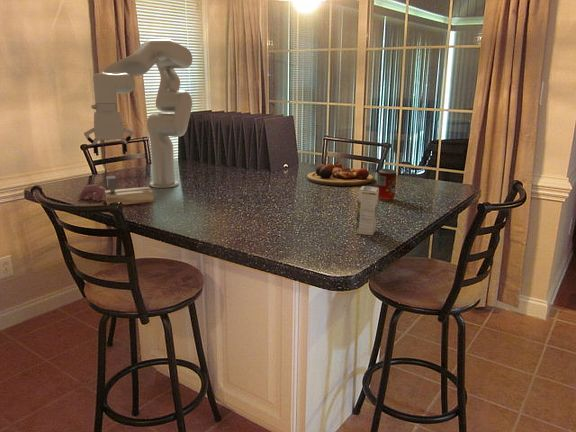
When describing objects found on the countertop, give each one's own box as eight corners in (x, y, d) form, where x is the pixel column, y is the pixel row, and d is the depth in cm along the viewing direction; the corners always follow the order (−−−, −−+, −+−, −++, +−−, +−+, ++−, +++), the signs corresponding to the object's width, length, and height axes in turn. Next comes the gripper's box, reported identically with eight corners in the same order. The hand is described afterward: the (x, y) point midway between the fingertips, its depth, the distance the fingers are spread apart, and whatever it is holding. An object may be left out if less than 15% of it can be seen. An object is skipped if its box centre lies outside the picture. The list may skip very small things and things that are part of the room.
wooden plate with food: (387, 182, 228) (388, 165, 226) (335, 189, 211) (336, 171, 208) (343, 172, 253) (344, 156, 251) (293, 178, 236) (294, 161, 234)
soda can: (390, 202, 190) (392, 172, 187) (373, 199, 194) (375, 170, 191) (397, 199, 196) (399, 169, 193) (381, 196, 200) (383, 167, 197)
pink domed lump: (105, 203, 191) (109, 186, 192) (97, 201, 186) (101, 183, 187) (84, 201, 194) (88, 184, 195) (77, 199, 189) (80, 181, 191)
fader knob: (107, 190, 187) (106, 176, 185) (115, 189, 188) (114, 175, 186) (109, 193, 182) (107, 178, 181) (117, 192, 184) (116, 178, 182)
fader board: (105, 200, 189) (104, 190, 188) (149, 196, 196) (149, 186, 195) (107, 206, 182) (106, 195, 180) (153, 201, 189) (153, 191, 187)
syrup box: (358, 228, 158) (360, 185, 154) (376, 230, 157) (379, 187, 153) (355, 233, 153) (357, 189, 149) (374, 235, 151) (377, 191, 147)
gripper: (81, 109, 170) (86, 157, 174) (132, 108, 177) (136, 154, 182) (80, 107, 176) (85, 154, 181) (129, 107, 183) (133, 152, 188)
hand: (110, 154), depth 181 cm, fingers open, 9 cm apart
